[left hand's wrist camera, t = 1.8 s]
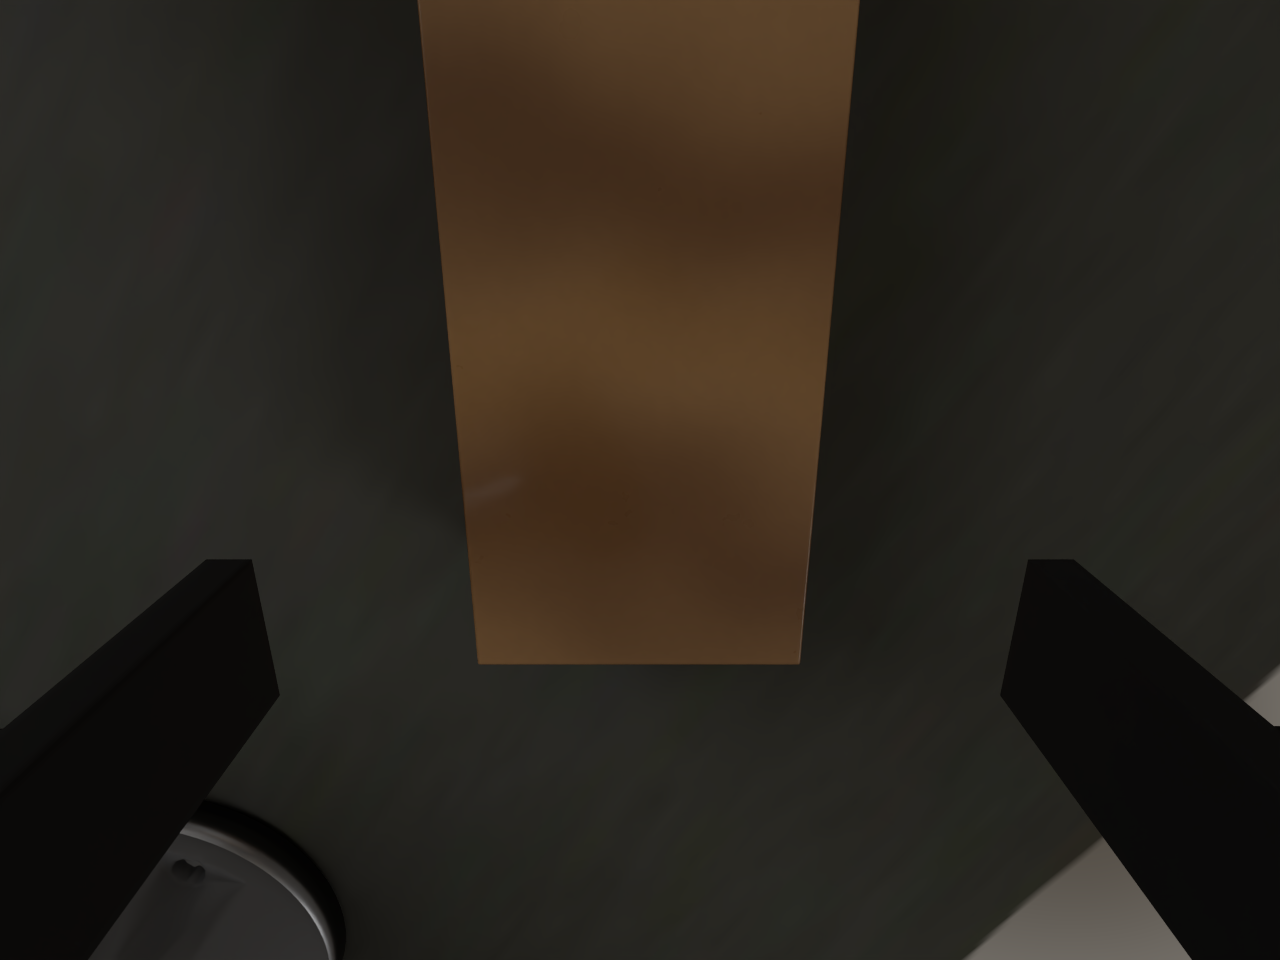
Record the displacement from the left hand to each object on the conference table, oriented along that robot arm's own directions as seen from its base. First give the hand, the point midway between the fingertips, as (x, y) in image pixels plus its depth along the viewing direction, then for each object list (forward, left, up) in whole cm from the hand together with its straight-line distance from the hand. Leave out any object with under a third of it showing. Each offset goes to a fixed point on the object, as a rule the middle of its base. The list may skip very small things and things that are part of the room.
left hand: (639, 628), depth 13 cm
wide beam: (+10, +32, -14) cm, 37 cm away
